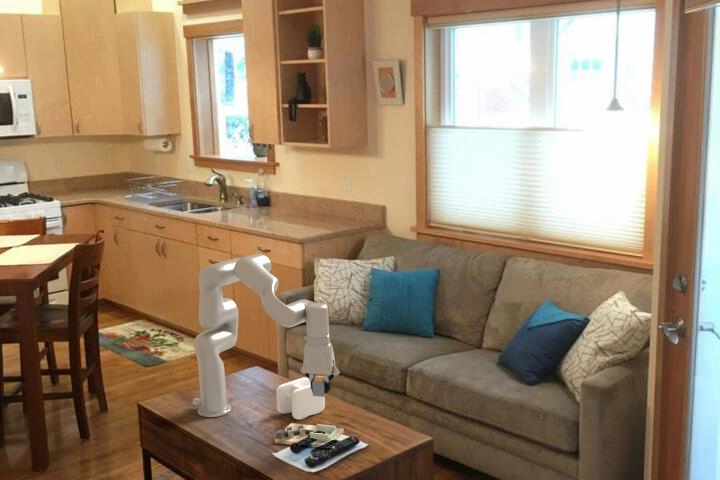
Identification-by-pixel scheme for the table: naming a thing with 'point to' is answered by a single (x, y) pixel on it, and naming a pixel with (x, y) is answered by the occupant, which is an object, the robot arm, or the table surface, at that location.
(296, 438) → the board
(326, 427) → the bracket
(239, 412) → the table surface
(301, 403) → the cable organizer
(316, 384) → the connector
